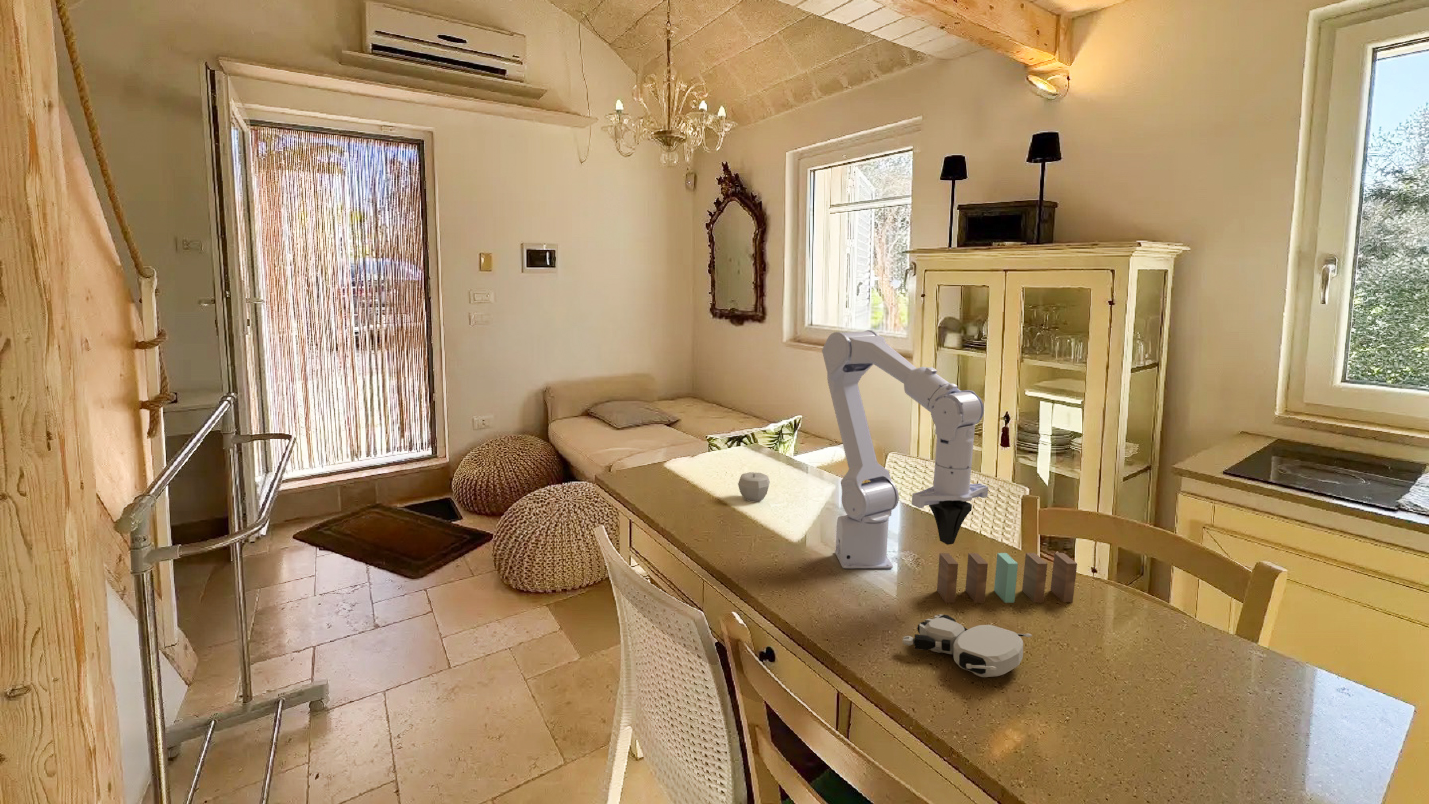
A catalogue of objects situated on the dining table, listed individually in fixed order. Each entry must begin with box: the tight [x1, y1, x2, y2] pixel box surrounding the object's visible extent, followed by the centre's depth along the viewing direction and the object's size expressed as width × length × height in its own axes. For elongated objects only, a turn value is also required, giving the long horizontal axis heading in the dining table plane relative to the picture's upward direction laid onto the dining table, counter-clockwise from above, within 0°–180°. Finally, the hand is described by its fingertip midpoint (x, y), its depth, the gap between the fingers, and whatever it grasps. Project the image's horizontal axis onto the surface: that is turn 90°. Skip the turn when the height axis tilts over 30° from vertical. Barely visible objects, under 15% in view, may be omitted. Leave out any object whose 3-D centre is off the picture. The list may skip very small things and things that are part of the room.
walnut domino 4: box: [1050, 552, 1078, 603], centre depth 119 cm, size 2×4×7 cm, turn 1°
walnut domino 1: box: [936, 552, 959, 604], centre depth 118 cm, size 2×4×7 cm, turn 1°
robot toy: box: [902, 613, 1033, 678], centre depth 100 cm, size 12×4×15 cm
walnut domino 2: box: [964, 552, 989, 604], centre depth 119 cm, size 2×4×7 cm, turn 1°
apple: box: [737, 471, 770, 503], centre depth 168 cm, size 8×8×7 cm
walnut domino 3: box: [1021, 552, 1048, 604], centre depth 119 cm, size 2×4×7 cm, turn 1°
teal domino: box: [993, 552, 1019, 604], centre depth 119 cm, size 2×4×7 cm, turn 1°
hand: (946, 542), depth 117 cm, fingers closed
